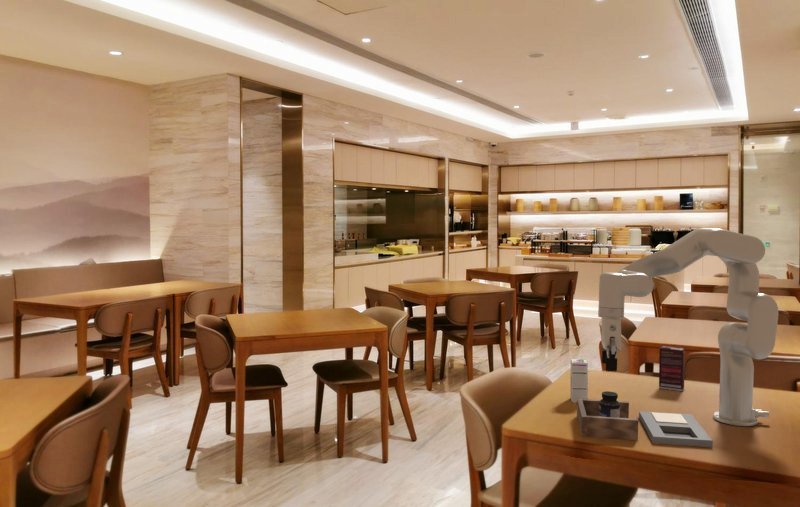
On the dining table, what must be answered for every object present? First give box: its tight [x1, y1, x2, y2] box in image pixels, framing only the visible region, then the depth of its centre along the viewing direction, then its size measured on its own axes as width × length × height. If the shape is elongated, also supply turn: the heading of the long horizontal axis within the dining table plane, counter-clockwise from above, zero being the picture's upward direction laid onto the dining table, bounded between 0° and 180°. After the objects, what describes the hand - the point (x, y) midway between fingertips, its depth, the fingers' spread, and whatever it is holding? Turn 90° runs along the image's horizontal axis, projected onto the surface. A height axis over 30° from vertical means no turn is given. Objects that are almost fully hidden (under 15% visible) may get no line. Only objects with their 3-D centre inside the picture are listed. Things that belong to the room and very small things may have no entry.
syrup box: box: [570, 358, 589, 404], centre depth 221 cm, size 6×6×14 cm
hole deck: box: [638, 410, 714, 448], centre depth 190 cm, size 16×24×2 cm, turn 168°
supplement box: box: [658, 345, 686, 392], centre depth 236 cm, size 9×5×16 cm, turn 58°
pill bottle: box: [599, 391, 620, 418], centre depth 193 cm, size 6×6×11 cm
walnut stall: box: [576, 398, 639, 441], centre depth 193 cm, size 16×19×6 cm
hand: (609, 367), depth 192 cm, fingers open, 9 cm apart
